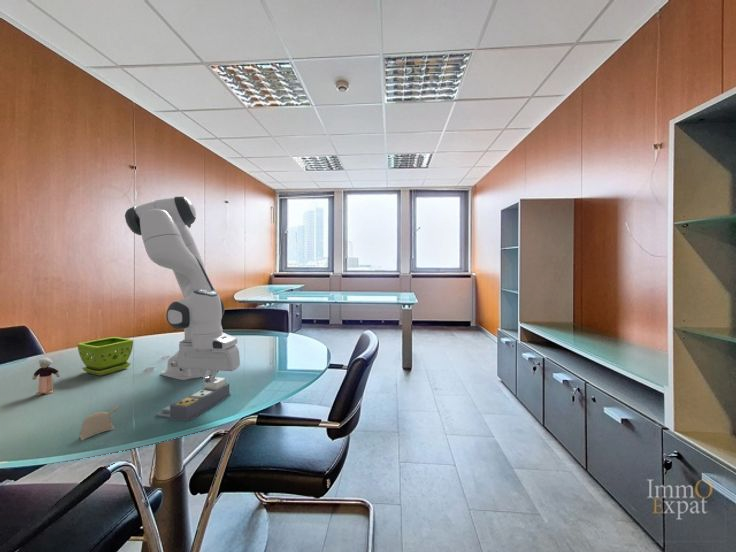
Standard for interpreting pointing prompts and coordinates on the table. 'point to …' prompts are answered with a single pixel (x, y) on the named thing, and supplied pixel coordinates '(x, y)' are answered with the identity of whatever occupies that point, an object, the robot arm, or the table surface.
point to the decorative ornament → (96, 424)
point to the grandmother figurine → (45, 376)
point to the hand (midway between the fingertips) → (209, 382)
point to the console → (195, 405)
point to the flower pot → (105, 355)
